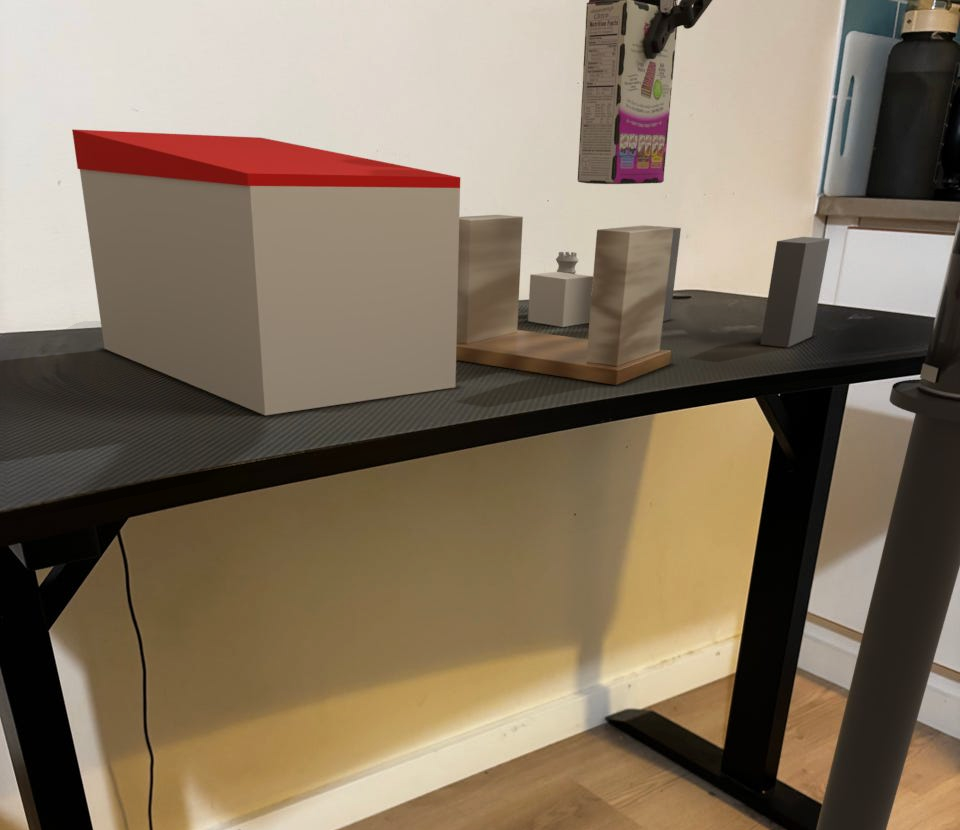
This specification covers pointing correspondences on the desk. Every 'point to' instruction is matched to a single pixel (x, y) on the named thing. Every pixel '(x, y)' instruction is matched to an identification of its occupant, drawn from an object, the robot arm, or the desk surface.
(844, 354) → the desk surface
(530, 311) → the cream cube
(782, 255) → the grey books
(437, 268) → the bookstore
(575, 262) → the rook chess piece
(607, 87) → the candy bar box
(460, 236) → the shelf
